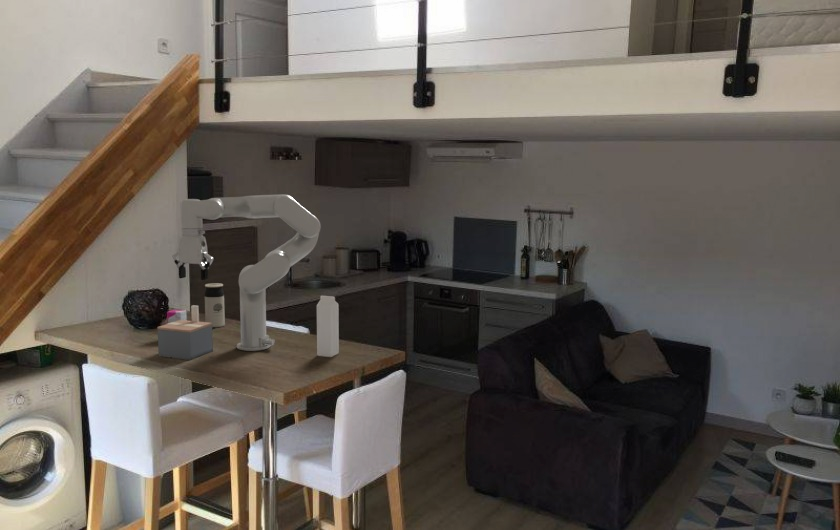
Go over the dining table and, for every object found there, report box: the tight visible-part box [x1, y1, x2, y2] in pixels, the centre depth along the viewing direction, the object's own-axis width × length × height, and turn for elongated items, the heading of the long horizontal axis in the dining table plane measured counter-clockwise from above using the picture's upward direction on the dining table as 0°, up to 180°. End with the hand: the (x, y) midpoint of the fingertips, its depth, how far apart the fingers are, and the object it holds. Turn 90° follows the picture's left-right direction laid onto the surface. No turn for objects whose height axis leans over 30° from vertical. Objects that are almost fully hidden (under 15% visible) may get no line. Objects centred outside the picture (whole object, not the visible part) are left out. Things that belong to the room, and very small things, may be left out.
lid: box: [156, 304, 212, 333], centre depth 257 cm, size 14×13×7 cm
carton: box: [157, 325, 214, 361], centre depth 258 cm, size 14×13×10 cm
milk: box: [316, 295, 340, 358], centre depth 258 cm, size 6×6×22 cm
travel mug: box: [204, 282, 226, 328], centre depth 302 cm, size 8×8×18 cm
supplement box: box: [166, 309, 188, 324], centre depth 279 cm, size 6×6×12 cm
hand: (193, 278), depth 260 cm, fingers open, 9 cm apart
